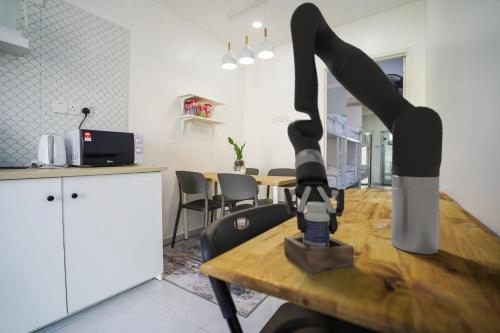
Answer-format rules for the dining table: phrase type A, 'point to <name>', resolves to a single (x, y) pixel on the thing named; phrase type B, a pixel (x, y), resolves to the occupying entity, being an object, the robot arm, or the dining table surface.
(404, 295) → the dining table surface
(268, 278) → the dining table surface
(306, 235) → the pill bottle
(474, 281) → the dining table surface
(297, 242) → the square tray
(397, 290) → the dining table surface
